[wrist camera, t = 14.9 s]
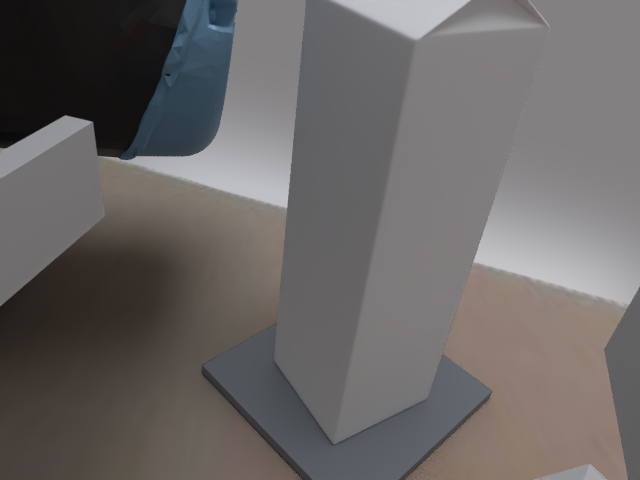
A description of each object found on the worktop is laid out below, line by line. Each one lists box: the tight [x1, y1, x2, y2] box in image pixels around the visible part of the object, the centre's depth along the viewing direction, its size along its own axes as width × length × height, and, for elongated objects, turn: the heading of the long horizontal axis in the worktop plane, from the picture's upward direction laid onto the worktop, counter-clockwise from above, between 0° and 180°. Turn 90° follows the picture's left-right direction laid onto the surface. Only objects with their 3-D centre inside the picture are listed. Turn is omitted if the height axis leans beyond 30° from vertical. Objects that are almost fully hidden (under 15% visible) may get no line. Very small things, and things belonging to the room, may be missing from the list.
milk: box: [274, 0, 551, 444], centre depth 24 cm, size 6×6×22 cm
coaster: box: [202, 323, 492, 480], centre depth 30 cm, size 11×11×1 cm
